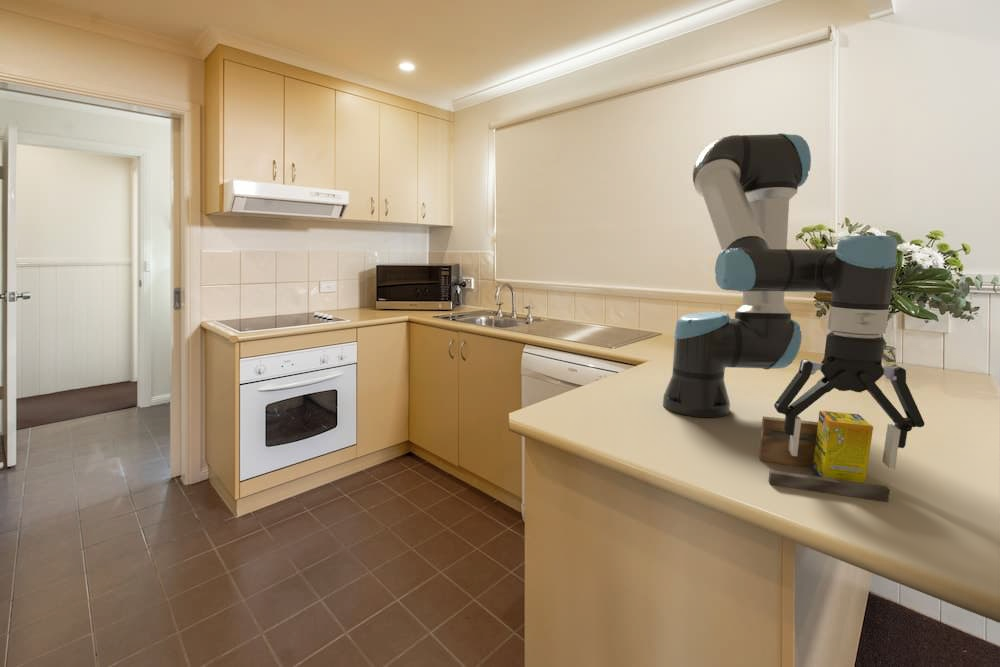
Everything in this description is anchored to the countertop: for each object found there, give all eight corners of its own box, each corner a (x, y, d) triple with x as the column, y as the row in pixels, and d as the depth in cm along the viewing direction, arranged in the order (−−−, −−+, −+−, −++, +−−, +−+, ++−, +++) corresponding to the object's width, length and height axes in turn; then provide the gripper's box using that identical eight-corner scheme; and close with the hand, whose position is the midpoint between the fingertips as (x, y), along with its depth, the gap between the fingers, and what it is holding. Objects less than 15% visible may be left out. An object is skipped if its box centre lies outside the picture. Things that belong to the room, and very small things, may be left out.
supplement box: (811, 469, 84) (818, 409, 82) (851, 474, 82) (859, 413, 80) (821, 484, 78) (829, 421, 77) (865, 490, 76) (874, 425, 75)
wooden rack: (769, 484, 78) (774, 438, 77) (758, 457, 89) (762, 416, 87) (887, 501, 73) (895, 452, 72) (861, 471, 83) (867, 427, 82)
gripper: (771, 332, 77) (759, 456, 80) (967, 343, 69) (944, 481, 72) (763, 326, 84) (752, 440, 87) (940, 335, 76) (920, 461, 79)
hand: (839, 459), depth 80 cm, fingers open, 13 cm apart
